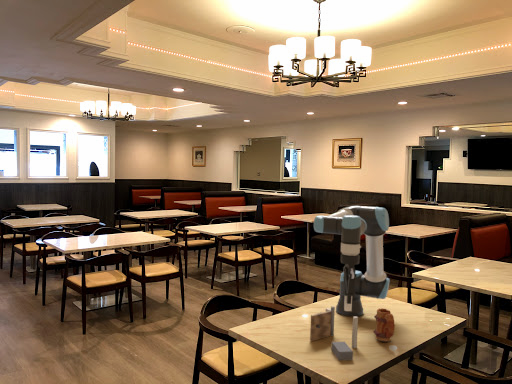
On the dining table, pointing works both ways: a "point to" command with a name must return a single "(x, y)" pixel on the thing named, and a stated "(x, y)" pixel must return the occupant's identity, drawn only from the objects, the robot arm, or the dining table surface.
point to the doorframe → (354, 329)
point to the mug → (384, 325)
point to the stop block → (342, 351)
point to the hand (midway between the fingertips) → (347, 310)
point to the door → (320, 325)
